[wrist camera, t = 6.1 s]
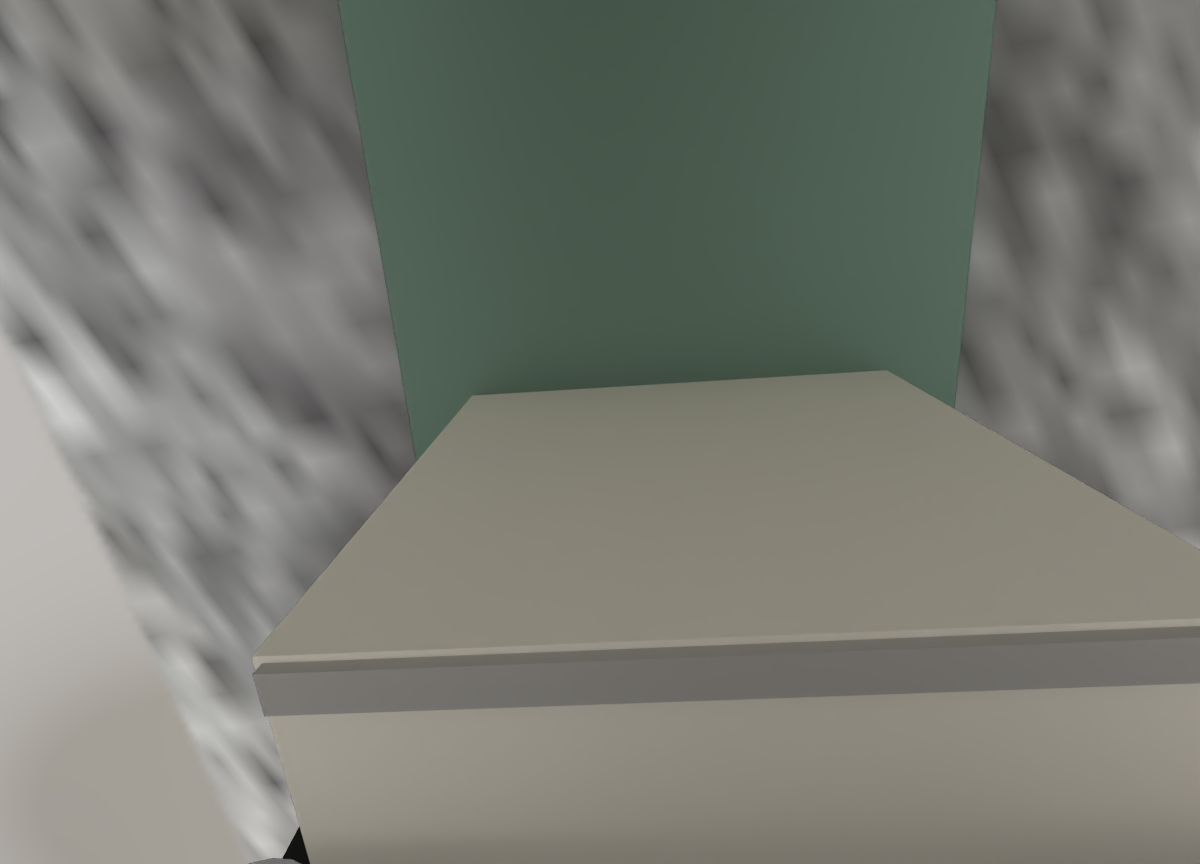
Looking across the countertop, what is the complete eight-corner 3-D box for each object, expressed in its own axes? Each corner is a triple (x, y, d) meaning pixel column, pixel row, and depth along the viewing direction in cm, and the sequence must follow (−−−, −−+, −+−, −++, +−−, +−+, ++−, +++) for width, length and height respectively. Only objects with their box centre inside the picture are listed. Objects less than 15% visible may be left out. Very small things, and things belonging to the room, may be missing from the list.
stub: (472, 395, 10) (242, 667, 4) (886, 369, 9) (1329, 625, 3) (517, 723, 11) (409, 1243, 6) (863, 711, 11) (1126, 1249, 5)
